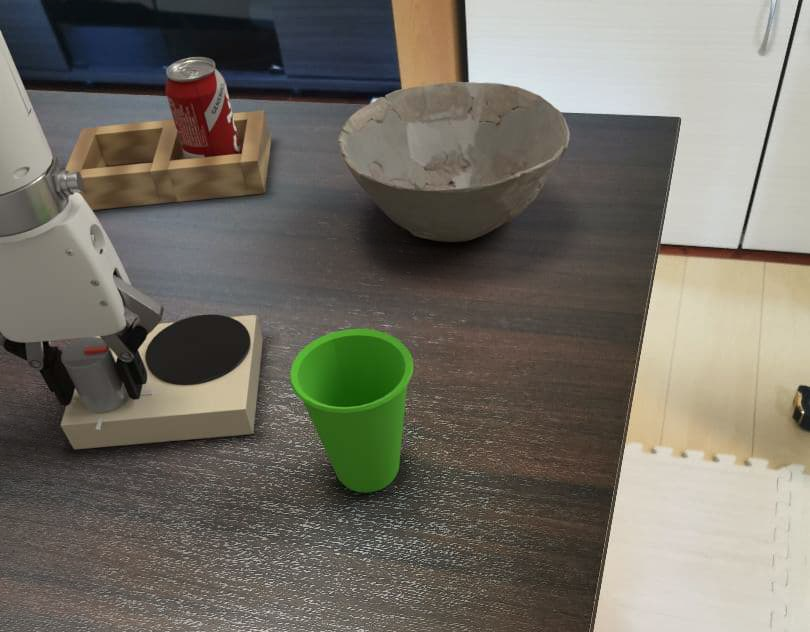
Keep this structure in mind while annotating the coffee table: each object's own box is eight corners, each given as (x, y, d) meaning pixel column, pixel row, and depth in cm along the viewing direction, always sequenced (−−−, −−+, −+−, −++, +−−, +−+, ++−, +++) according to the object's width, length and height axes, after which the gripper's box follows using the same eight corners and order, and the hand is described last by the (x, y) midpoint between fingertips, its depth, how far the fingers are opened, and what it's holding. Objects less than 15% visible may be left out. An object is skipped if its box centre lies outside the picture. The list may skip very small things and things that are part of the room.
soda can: (209, 192, 99) (180, 87, 90) (180, 173, 103) (148, 70, 94) (256, 169, 102) (232, 65, 93) (225, 152, 105) (199, 49, 96)
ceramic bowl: (571, 276, 84) (579, 181, 76) (342, 287, 86) (327, 195, 78) (554, 163, 97) (559, 72, 89) (357, 175, 99) (346, 87, 91)
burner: (138, 389, 74) (137, 387, 73) (154, 321, 80) (153, 319, 79) (246, 380, 73) (245, 377, 73) (254, 312, 79) (253, 309, 79)
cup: (336, 527, 66) (313, 426, 57) (299, 454, 71) (273, 351, 63) (440, 488, 68) (433, 383, 59) (396, 419, 73) (383, 314, 64)
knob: (79, 415, 72) (54, 367, 68) (88, 384, 74) (64, 335, 70) (125, 411, 72) (102, 362, 68) (132, 380, 74) (111, 331, 70)
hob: (64, 459, 73) (49, 433, 71) (95, 355, 82) (82, 328, 79) (252, 443, 73) (244, 416, 70) (263, 339, 81) (256, 312, 79)
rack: (74, 212, 99) (60, 179, 96) (94, 159, 107) (82, 128, 104) (264, 193, 98) (257, 160, 95) (271, 142, 106) (264, 109, 103)
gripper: (139, 156, 61) (206, 355, 75) (-92, 179, 61) (17, 372, 75) (121, 212, 56) (196, 413, 70) (-129, 237, 57) (-5, 430, 71)
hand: (103, 390), depth 73 cm, fingers open, 5 cm apart
